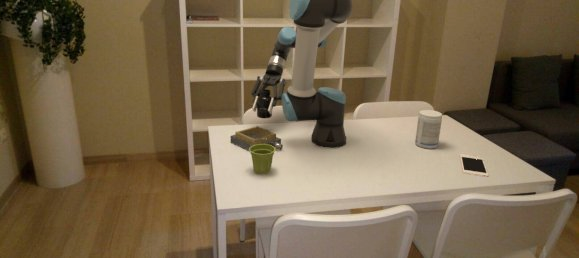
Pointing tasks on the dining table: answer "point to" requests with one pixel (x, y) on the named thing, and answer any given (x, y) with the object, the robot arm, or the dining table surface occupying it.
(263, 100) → the supplement bottle
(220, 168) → the dining table surface
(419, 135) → the supplement tub
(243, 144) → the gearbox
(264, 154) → the plant pot
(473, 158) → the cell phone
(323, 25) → the robot arm
